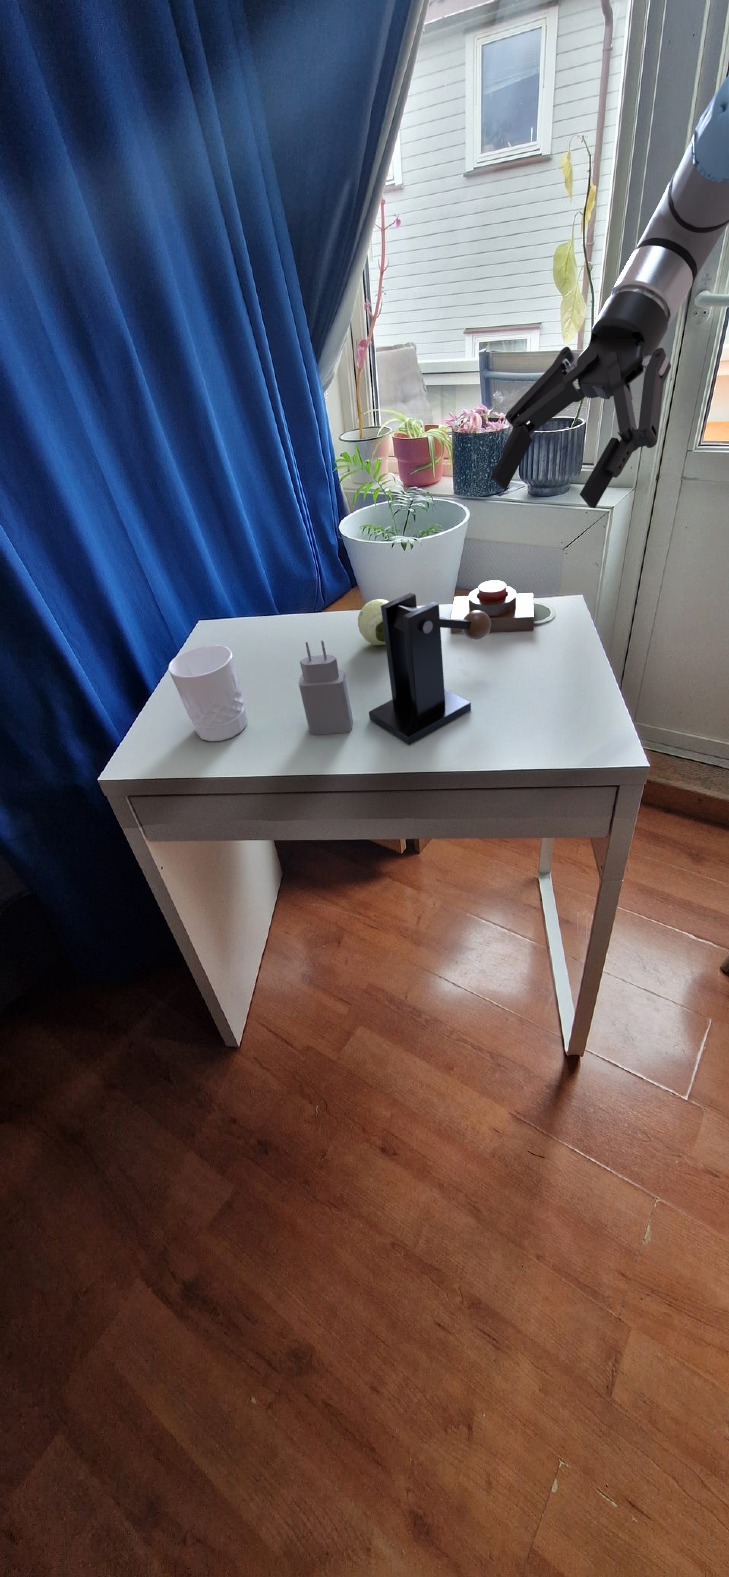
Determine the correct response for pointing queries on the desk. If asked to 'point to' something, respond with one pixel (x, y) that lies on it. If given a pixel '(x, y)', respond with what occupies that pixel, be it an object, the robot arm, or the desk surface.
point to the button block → (499, 611)
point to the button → (492, 591)
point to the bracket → (416, 674)
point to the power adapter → (325, 695)
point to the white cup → (210, 691)
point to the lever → (455, 622)
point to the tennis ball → (372, 622)
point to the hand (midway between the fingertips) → (540, 492)
